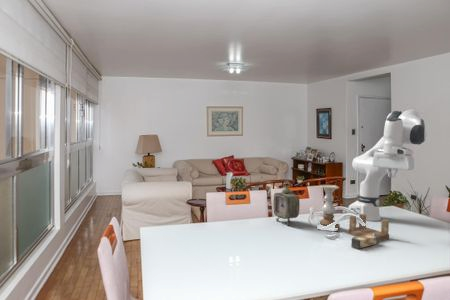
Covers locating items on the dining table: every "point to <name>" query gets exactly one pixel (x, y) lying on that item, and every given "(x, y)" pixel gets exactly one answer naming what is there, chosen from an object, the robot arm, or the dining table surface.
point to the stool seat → (367, 231)
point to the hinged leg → (364, 241)
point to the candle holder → (328, 206)
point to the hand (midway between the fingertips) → (391, 177)
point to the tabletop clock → (286, 204)
